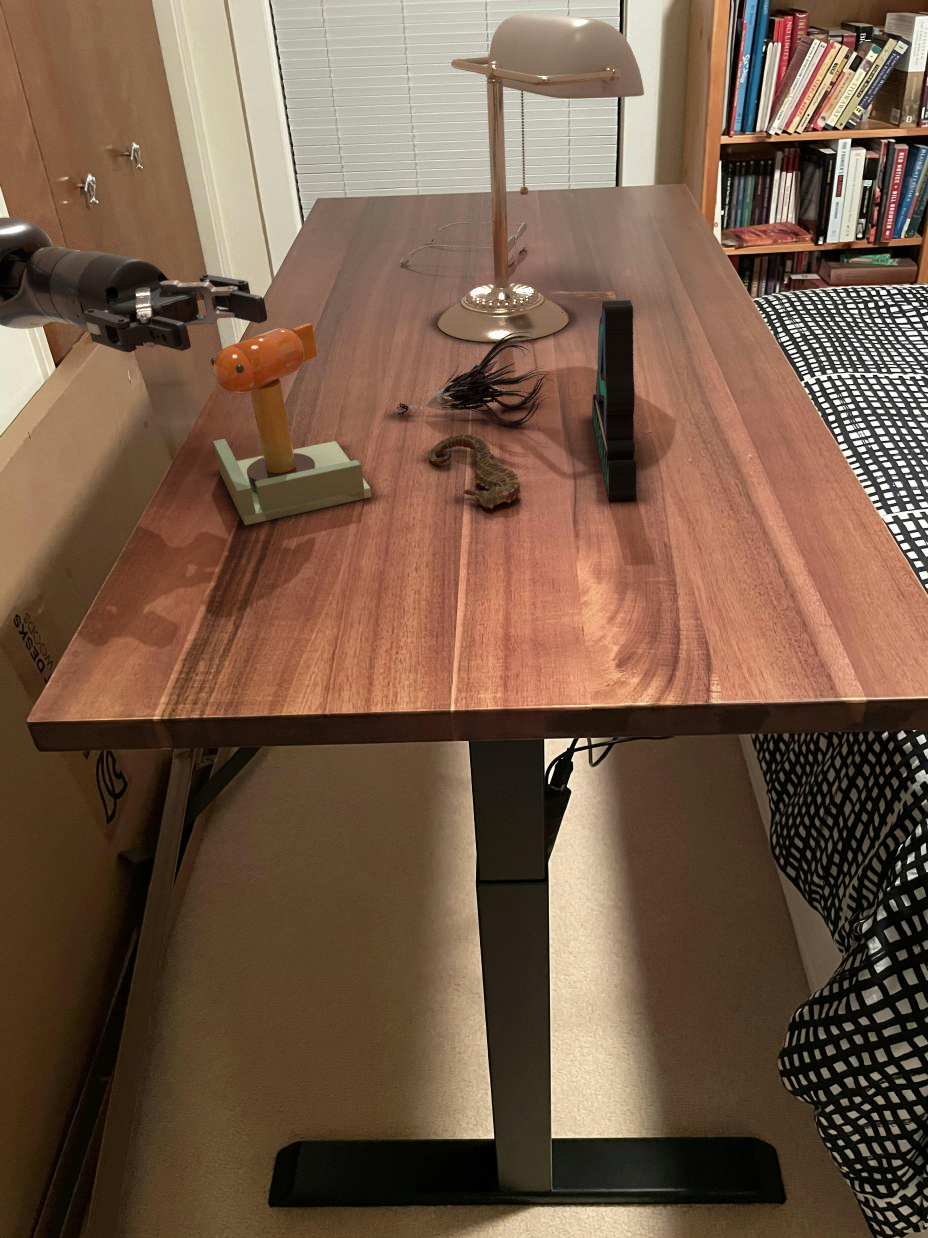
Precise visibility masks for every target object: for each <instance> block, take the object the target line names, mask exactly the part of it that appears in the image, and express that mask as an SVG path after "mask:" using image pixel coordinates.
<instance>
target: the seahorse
mask: <svg viewBox="0 0 928 1238" xmlns="http://www.w3.org/2000/svg"><path fill="white" fill-rule="evenodd" d="M456 447H458V448H461V447H464V448H467V449H468V450H471V451H473V453H474V454H475V466H474V468H473V471H474V478H473V479H472V481H473V482H476V484H479V486H482V487H484V489H485V490H481V491H479V490H473V489H469V488H466V489H464V490H463V491H462V493H463V494H464V495H466V496H472V497H474V499H475V500H476V503H477V504H481V506H483V507H484V508H485V510H487V509H492V510H493V509H494V507H496V506H499V505H500V504H503V503H509V504H510V503H511V502H512V501H514V500H515V499H516V497H517V496H519V494H520V493H521V490H522V488H521V483H520V481H519V477H518V474H517V473H516V472H514V471H513V469H511V468H507V467H505V466H503V465H502V463H501V461H500V458H499V457H498V458H497V457H495V456H494V454H493V453H491V447H490V446H489V444H488V443H487V442H486V440H484V438H482V437H481V436H477V435H476V434H472V433H469V434H468V433H463V434H457V435H451V436H449V437H445V438H444V439H442V440H441V441H439V442H438V443H436V444H434V446H433V447H432V448H431V449H430V450H429V453H428V458H429V461H430V462H431V463H432V464H433V465H438V466H440V465H443V464H445V463H447V462H448V461H449V460H451V458H452V453H451V452H450V451H447V452H446V453H445V454H446V455H445V456H444V457H438V456H439V455H440V454H441V453H443V452H444V451H446V450H449V449H452V448H456Z"/></svg>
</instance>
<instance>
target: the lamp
mask: <svg viewBox="0 0 928 1238" xmlns="http://www.w3.org/2000/svg"><path fill="white" fill-rule="evenodd" d="M493 33H494V34H493V35H492V39H491V41H490V48H489V52H488V53H489V54H488V55H486V56H476V57H475V56H474V57H463V58H455V59H452V60H451V62H450V64H451V67H452V68H453V69H455V70H456V69H457V70H460V71H466V72H470V73H475V74H478V75H479V74H480V75H485V77H486V96H487V97H486V99H487V100H486V101H487V126H488V127H487V128H488V152H489V154H488V155H489V176H490V177H489V178H490V199H491V200H490V201H491V223H492V224H491V226H492V247H493V248H492V249H493V251H492V252H493V253H492V254H493V275H494V276H493V278H494V284H493V283H488V284H486V285H480V286H475V287H474V288H473V289H470V290H469V291H468V292H467V294H466V295H464V296H463V297H462V298H461V299H460V301H457V302H455V303H454V304H452V305H451V306H449V307H448V308H447V309H445V311H444V312H443V313H442V314H441V315H440V316H439V317H438V319H437V320H436V321H437V324H436V325H437V327H438V329H439V330H440V331H441V332H443V333H444V334H446V335H447V336H450V337H453V338H456V339H461V340H465V341H469V342H478V343H479V342H480V343H481V342H482V343H497V342H498V341H499V340H500V339H502V338H503V337H504V336H506V335H508V334H511V333H514V332H519V331H528V333H517V334H513V335H510V336H508V337H506V338H505V339H507V338H510V337H513V336H528V337H531V338H528V337H524V338H517V339H512V340H509V341H513V340H514V341H522V342H524V340H525V341H528V340H529V341H531V340H534V339H535V340H536V339H539V338H542V337H547V336H550V335H553V334H555V333H556V332H559V331H561V330H562V329H564V328H565V327H566V326H567V325H568V323H569V322H570V316H569V314H568V313H567V312H566V310H565V309H564V308H563V307H561V305H559V304H558V305H557V303H556V302H555V301H553V300H551V299H550V298H547V297H544V295H543V294H542V293H540V292H539V291H538V290H536V289H535V288H534V287H532V286H530V285H527V284H525V285H524V284H523V283H516V282H511V283H510V271H509V267H510V265H508V239H509V237H508V236H509V235H508V225H507V224H508V209H507V208H508V205H507V175H506V173H507V171H506V170H507V169H506V141H505V140H506V139H505V113H504V111H505V109H504V107H505V105H504V88H508V89H511V90H516V91H520V92H521V93H520V95H521V96H520V101H521V103H520V104H521V106H520V107H521V109H520V111H521V112H520V113H521V116H520V117H521V151H522V152H521V154H522V157H521V158H522V161H521V162H522V165H521V166H522V186H521V187H520V189H519V193H520V195H522V196H527V195H528V194H529V188H528V187H527V186H526V178H525V177H526V166H525V165H526V163H525V162H526V161H525V159H526V157H525V156H526V155H525V130H524V129H525V124H524V123H525V113H524V110H525V109H524V104H525V103H524V92H525V93H529V94H535V95H540V96H543V97H547V98H554V99H567V100H568V99H571V100H572V99H575V100H576V99H577V100H578V99H579V100H580V99H581V100H583V99H607V98H608V99H609V98H632V97H633V98H634V97H642V96H644V95H645V89H644V83H643V78H642V75H641V69H640V68H639V64H638V62H637V58H636V56H635V55H634V52H633V50H632V47H631V45H630V44H629V41H628V40H627V39H626V38H625V36H624V35H623V34H622V33H621V32H620V31H619V30H618V29H617V28H615V26H613V25H611V24H609V23H607V22H604V21H602V20H598V19H595V18H591V17H583V16H574V15H573V16H572V15H564V14H563V15H562V14H561V15H560V14H551V13H541V12H540V13H539V12H538V13H537V12H525V13H524V12H523V13H519V14H515V15H512V16H509V17H507V18H506V19H504V20H502V21H501V23H500V24H499V25H498V27H497V28H496V30H495V32H493ZM562 312H563V313H562ZM530 333H531V334H532V335H533V336H532V335H531V334H530ZM534 333H535V334H534ZM525 338H527V339H525ZM532 338H533V339H532ZM505 339H504V340H505ZM502 341H503V340H502ZM502 341H501V342H502ZM509 341H508V342H509Z"/></svg>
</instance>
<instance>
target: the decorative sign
mask: <svg viewBox="0 0 928 1238" xmlns="http://www.w3.org/2000/svg"><path fill="white" fill-rule="evenodd" d="M597 338H598V339H597V371H596V383H595V394H594V393H593V394H592V403H591V424H592V428H593V429H592V430H593V433H594V437H595V443H596V446H597V453H598V459H599V463H600V465H601V471H602V476H603V481H604V486H605V491H606V493H607V500H608V501H620V500H621V501H622V500H637V499H636V498H637V460H636V459H635V451H636V450H635V449H636V448H635V427H634V426H635V424H634V422H635V421H634V420H635V419H634V417H635V415H634V414H635V402H636V400H635V399H636V398H635V397H636V396H635V393H636V392H635V390H636V389H635V377H634V306H633V304H632V301H631V300H630V299H627V300H603V301H602V305H601V317H600V319H599V325H598V336H597Z"/></svg>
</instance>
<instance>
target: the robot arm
mask: <svg viewBox="0 0 928 1238" xmlns="http://www.w3.org/2000/svg"><path fill="white" fill-rule="evenodd" d="M198 279H199V281H194V282H182V281H180V280H177V279H173V280H172V279H171V280H170V279H169V278H168V277H167V276H166V275H165V273H164V272H163V271H162V270H161V269H160V268H159V267H157V266H156V265H155V264H154V263H152V262H150V261H147V260H144V259H139V258H134V257H130V256H125V255H119V254H114V253H108V252H105V251H104V252H103V251H97V250H80V249H74V248H70V247H64V246H58V245H54V244H53V241H52V240H51V238H50V236H49V235H48V234H47V233H46V231H45V230H44V229H43V228H42V227H40V226H38V224H36V223H34V222H31V221H29V220H28V219H27V220H26V219H23V218H19V217H9V216H8V217H7V216H5V217H4V216H3V217H0V326H2V327H5V328H10V329H17V330H30V329H37V328H42V327H46V326H47V327H48V326H49V325H53V324H57V323H60V324H64V325H68V326H72V327H75V328H78V329H79V330H81V331H84V332H85V333H88V334H89V336H90V338H91V339H90V340H91V342H93V343H97V344H99V345H102V346H104V347H108V348H112V349H115V350H117V351H120V352H123V353H133V352H134V351H137V347H145V348H154V347H157V346H162V347H165V348H169V349H173V350H177V351H180V352H184V351H187V350H189V349H191V347H192V345H191V340H190V335H189V331H188V326H199V325H201V326H202V325H214V324H216V323H217V321H218V320H219V319H231V318H233V319H238V320H243V321H247V322H251V323H255V324H262V323H265V322H267V320H268V313H267V307H266V303H265V298H264V297H262V296H261V295H258V294H254V293H253V294H252V293H251V289H250V284H249V281H248V280H244V279H237V278H231V277H225V276H219V275H214V274H208V273H205V274H202V275H200V276H198ZM198 301H203V303H204V307H205V312H206V314H200V309H199V305H198Z"/></svg>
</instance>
